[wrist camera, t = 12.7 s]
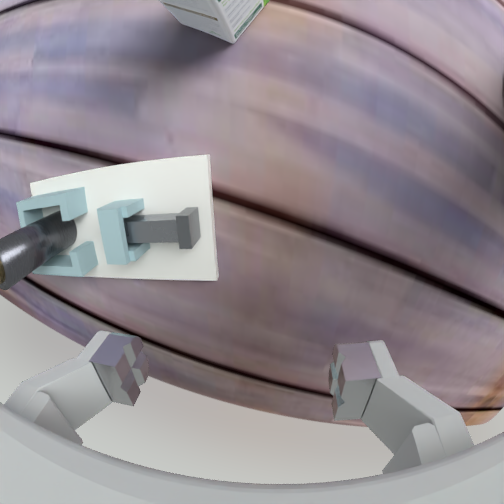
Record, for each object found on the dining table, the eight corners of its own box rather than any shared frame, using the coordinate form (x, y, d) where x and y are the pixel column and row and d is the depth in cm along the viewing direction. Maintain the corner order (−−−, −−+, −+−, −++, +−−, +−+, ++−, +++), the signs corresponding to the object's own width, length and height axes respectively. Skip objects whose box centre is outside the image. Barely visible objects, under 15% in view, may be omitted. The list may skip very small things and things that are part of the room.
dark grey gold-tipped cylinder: (73, 208, 24) (-13, 252, 13) (80, 246, 25) (3, 301, 15) (48, 211, 24) (-32, 252, 14) (55, 246, 26) (-18, 296, 15)
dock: (209, 154, 22) (194, 157, 18) (218, 275, 26) (207, 302, 22) (35, 181, 24) (6, 190, 20) (54, 270, 28) (30, 288, 24)
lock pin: (198, 206, 23) (188, 215, 20) (200, 237, 24) (191, 248, 21) (115, 211, 24) (99, 220, 21) (120, 238, 24) (105, 249, 22)
